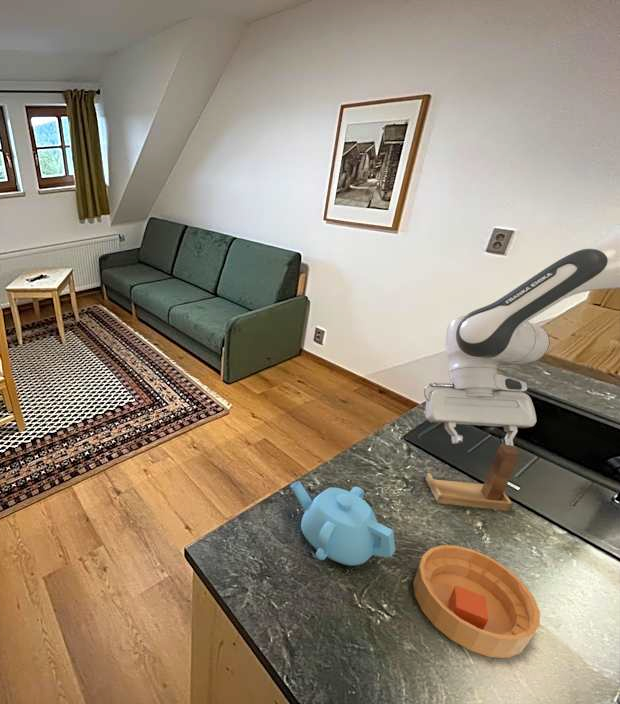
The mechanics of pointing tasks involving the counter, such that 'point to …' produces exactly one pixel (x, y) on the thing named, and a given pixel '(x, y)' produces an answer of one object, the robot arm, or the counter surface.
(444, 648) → the counter surface
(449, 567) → the bowl
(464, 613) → the block
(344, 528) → the teapot
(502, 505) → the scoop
